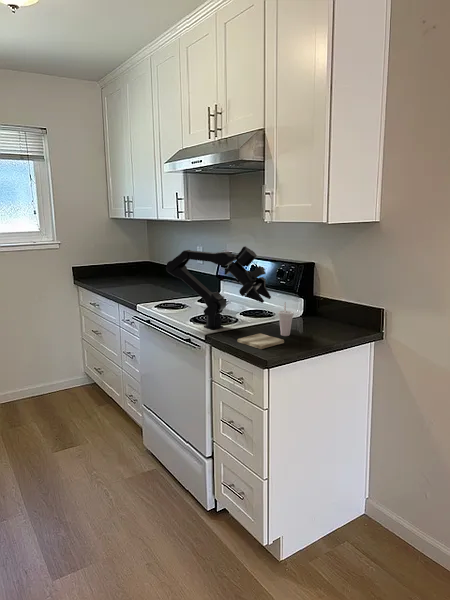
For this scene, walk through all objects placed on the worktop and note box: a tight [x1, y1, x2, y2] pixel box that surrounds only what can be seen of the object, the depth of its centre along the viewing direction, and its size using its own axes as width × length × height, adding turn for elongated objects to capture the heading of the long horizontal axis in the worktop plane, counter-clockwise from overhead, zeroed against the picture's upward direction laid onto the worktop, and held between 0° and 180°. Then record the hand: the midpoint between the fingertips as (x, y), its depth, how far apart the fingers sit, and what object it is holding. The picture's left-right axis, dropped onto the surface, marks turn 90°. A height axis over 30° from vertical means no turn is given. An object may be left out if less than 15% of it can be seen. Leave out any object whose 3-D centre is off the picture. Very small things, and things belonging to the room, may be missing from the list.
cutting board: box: [236, 332, 285, 350], centre depth 180 cm, size 13×13×1 cm
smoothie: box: [277, 301, 294, 337], centre depth 190 cm, size 6×6×14 cm
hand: (267, 300), depth 190 cm, fingers open, 9 cm apart
